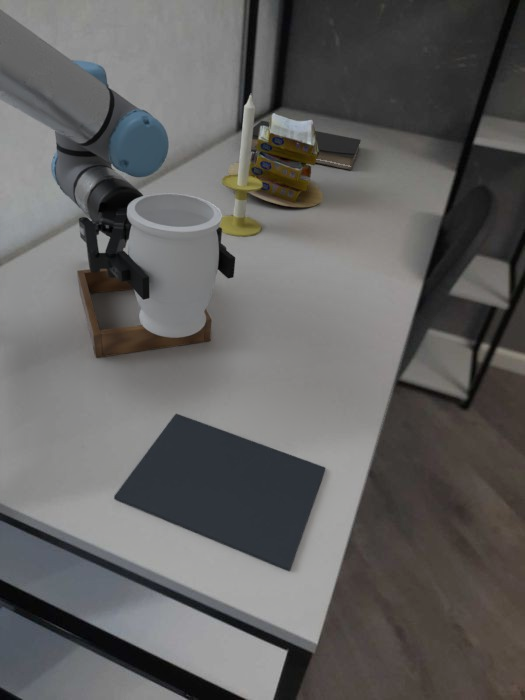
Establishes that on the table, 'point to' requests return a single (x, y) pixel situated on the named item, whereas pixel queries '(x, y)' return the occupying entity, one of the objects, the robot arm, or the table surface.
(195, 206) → the jar
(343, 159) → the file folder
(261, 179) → the snack boxes on plate
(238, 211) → the candle
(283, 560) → the mat
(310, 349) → the table surface
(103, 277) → the wooden square frame
